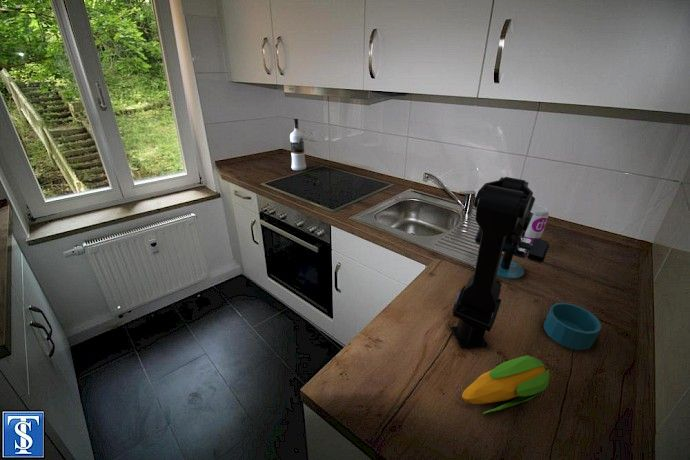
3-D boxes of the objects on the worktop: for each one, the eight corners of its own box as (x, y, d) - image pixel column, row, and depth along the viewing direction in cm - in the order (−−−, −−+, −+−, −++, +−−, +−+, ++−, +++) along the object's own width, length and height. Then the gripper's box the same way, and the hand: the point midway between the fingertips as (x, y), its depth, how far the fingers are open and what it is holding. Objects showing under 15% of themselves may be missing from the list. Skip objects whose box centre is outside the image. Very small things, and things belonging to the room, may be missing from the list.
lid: (530, 279, 97) (540, 251, 92) (496, 281, 96) (504, 253, 91) (510, 259, 106) (518, 233, 102) (479, 261, 105) (485, 235, 101)
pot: (603, 348, 73) (612, 331, 71) (562, 351, 72) (570, 334, 70) (571, 317, 82) (578, 301, 80) (534, 320, 81) (541, 303, 79)
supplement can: (542, 250, 112) (556, 212, 105) (521, 252, 111) (533, 214, 104) (527, 239, 119) (538, 203, 112) (507, 241, 118) (518, 204, 111)
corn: (566, 368, 59) (482, 402, 53) (556, 396, 63) (475, 431, 56) (533, 341, 66) (454, 369, 60) (525, 368, 69) (449, 397, 63)
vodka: (300, 165, 202) (297, 117, 188) (309, 169, 196) (306, 118, 182) (288, 168, 197) (284, 118, 183) (296, 172, 191) (293, 120, 177)
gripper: (559, 216, 82) (552, 237, 95) (486, 200, 92) (488, 220, 105) (545, 255, 81) (540, 270, 93) (472, 233, 90) (476, 250, 103)
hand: (510, 251), depth 99 cm, fingers closed on lid, 2 cm apart
